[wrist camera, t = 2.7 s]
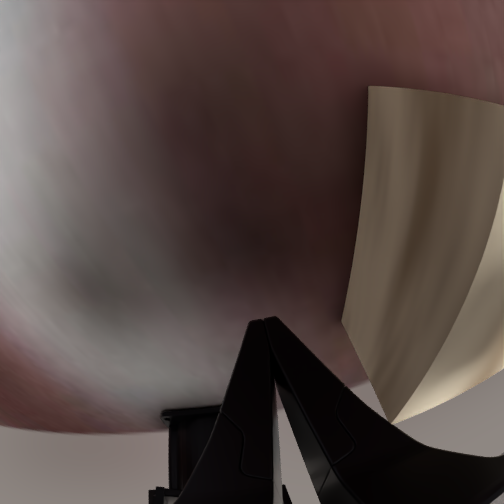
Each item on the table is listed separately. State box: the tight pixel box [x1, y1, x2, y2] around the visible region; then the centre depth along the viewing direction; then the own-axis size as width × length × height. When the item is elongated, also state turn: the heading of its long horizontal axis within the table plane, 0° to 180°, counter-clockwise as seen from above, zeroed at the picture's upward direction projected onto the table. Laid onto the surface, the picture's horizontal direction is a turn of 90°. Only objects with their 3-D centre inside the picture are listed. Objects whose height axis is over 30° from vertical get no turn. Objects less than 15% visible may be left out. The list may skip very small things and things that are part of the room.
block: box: [341, 86, 504, 424], centre depth 10 cm, size 10×12×7 cm
